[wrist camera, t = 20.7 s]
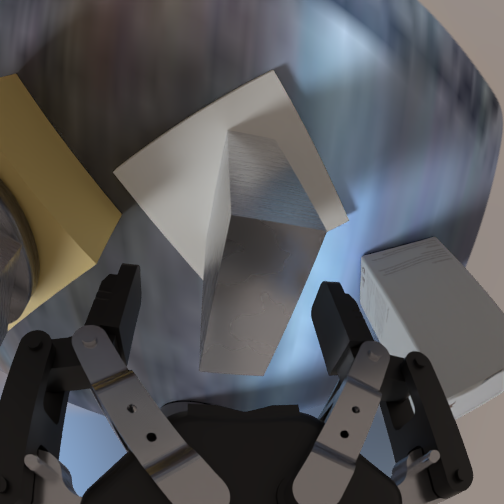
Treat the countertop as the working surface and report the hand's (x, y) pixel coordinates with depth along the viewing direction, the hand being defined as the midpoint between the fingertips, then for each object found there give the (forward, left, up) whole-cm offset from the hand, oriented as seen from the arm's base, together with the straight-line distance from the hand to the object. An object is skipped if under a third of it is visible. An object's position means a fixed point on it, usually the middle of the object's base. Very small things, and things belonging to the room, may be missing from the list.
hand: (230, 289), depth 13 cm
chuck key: (0, -1, -9) cm, 9 cm away
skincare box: (-14, -10, -10) cm, 20 cm away
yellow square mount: (+10, +14, -10) cm, 20 cm away
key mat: (0, -1, -10) cm, 10 cm away
